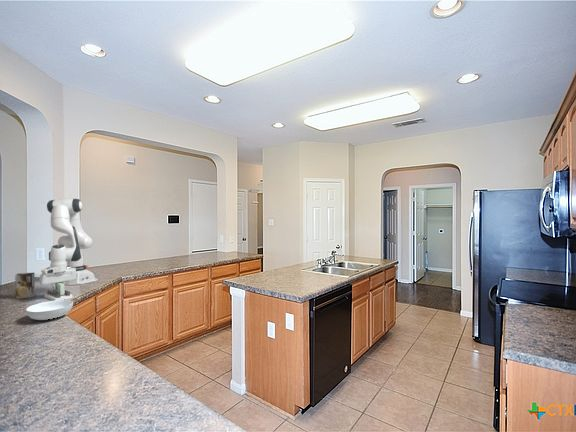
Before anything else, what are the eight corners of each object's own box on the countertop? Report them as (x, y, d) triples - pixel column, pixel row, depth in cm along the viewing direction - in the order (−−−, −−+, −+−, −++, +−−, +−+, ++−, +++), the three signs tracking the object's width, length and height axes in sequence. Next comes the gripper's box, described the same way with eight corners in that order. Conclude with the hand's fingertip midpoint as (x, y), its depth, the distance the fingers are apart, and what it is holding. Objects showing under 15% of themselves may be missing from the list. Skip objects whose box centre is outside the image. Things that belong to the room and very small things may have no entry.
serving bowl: (67, 308, 182) (67, 297, 181) (78, 316, 168) (78, 304, 168) (22, 317, 165) (22, 305, 165) (30, 327, 152) (30, 314, 152)
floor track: (61, 293, 211) (61, 287, 211) (72, 297, 202) (72, 291, 202) (44, 297, 202) (44, 290, 202) (55, 301, 193) (55, 294, 193)
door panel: (56, 291, 206) (56, 281, 206) (64, 294, 200) (64, 284, 200) (52, 292, 204) (52, 282, 204) (60, 295, 198) (60, 284, 198)
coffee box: (35, 294, 207) (35, 272, 207) (32, 297, 201) (32, 274, 201) (18, 296, 203) (18, 273, 202) (14, 299, 197) (14, 275, 197)
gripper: (73, 265, 212) (73, 284, 212) (38, 270, 195) (38, 291, 195) (77, 266, 209) (77, 286, 209) (42, 271, 191) (42, 292, 192)
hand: (58, 288), depth 202 cm, fingers closed on door panel, 2 cm apart
